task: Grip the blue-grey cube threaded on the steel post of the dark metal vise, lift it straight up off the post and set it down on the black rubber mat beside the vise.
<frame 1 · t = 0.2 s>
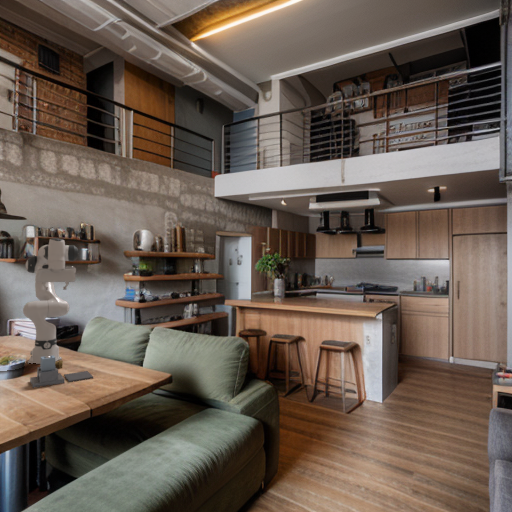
hand: (55, 290, 203), 47 cm above the table, tool pointing down, fingers open, 8 cm apart
gavel: (52, 373, 203), on the table
mat: (78, 377, 194), on the table
blue-grey cube: (47, 368, 185), point 7 cm above the table, touching vise
vise: (47, 382, 185), on the table
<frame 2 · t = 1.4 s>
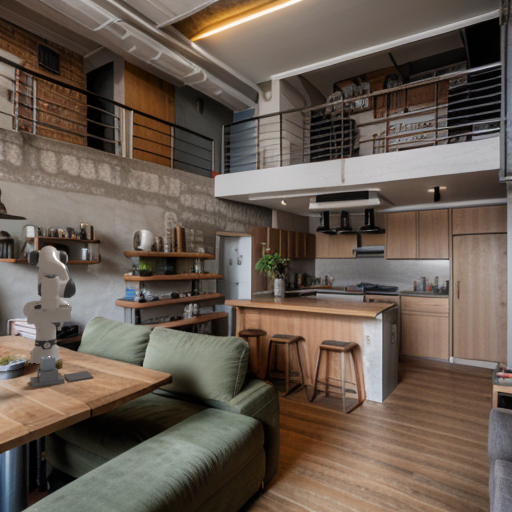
hand: (49, 331, 186), 27 cm above the table, tool pointing down, fingers open, 8 cm apart
nothing on the table moved.
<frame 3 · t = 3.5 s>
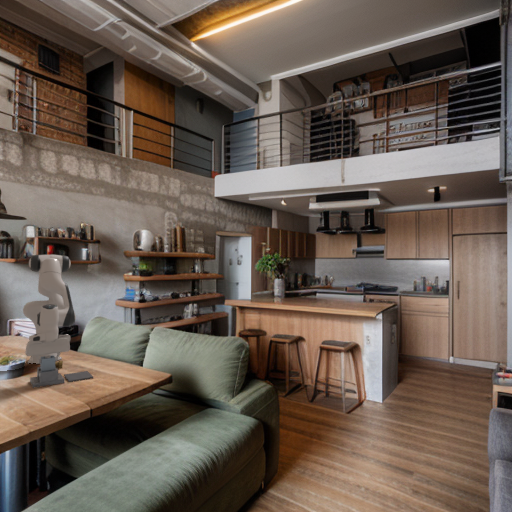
hand: (47, 362, 185), 10 cm above the table, tool pointing down, fingers closed on blue-grey cube, 6 cm apart
blue-grey cube: (47, 368, 185), point 7 cm above the table, touching gripper, vise
everything else where it was.
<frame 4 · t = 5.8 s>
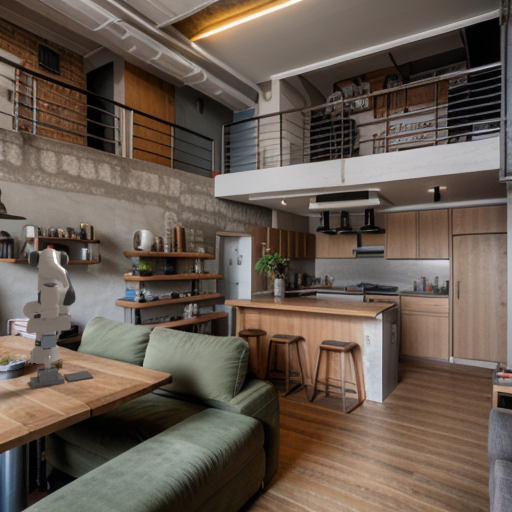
hand: (48, 340, 186), 22 cm above the table, tool pointing down, fingers closed on blue-grey cube, 6 cm apart
blue-grey cube: (48, 346, 186), point 19 cm above the table, touching gripper
everything else where it was.
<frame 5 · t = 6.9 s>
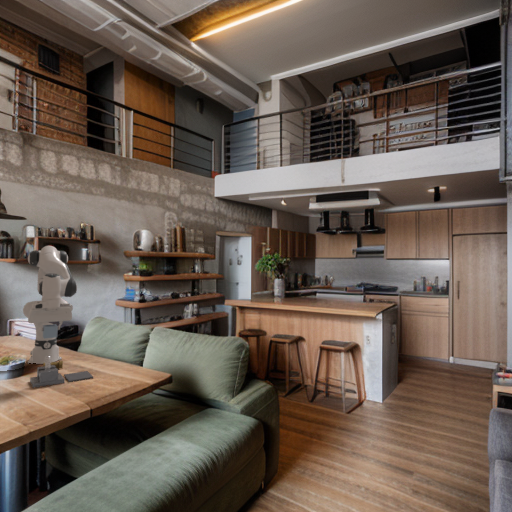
hand: (50, 330, 186), 27 cm above the table, tool pointing down, fingers closed on blue-grey cube, 6 cm apart
blue-grey cube: (50, 336, 186), point 24 cm above the table, touching gripper
everything else where it was.
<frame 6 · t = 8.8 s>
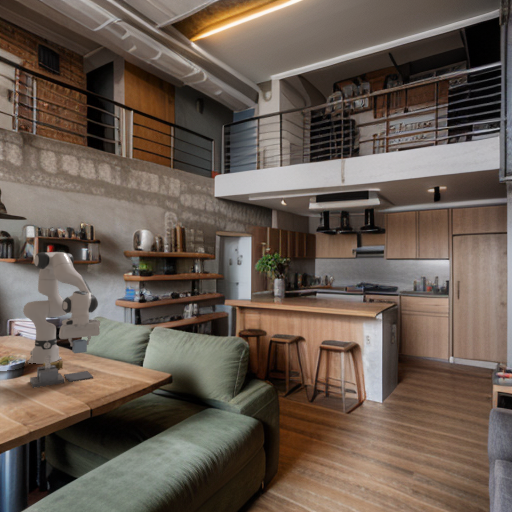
hand: (79, 345, 195), 17 cm above the table, tool pointing down, fingers closed on blue-grey cube, 6 cm apart
blue-grey cube: (79, 351, 194), point 14 cm above the table, touching gripper
when the fingers open (5 cm above the table, at t = 10.6 s): blue-grey cube drops 1 cm, resting on mat.
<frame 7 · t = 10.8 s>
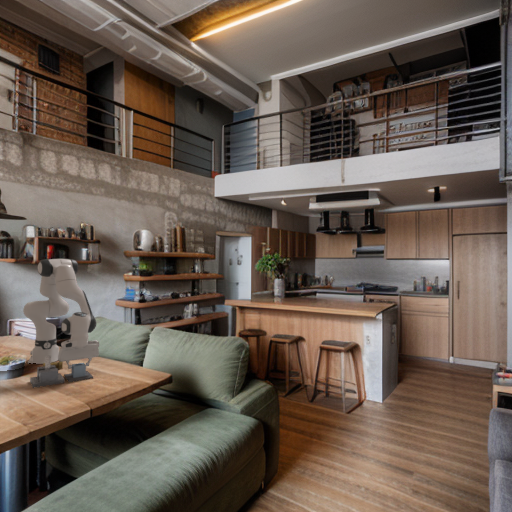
hand: (78, 367, 194), 5 cm above the table, tool pointing down, fingers open, 8 cm apart
blue-grey cube: (78, 375, 194), point 1 cm above the table, touching mat
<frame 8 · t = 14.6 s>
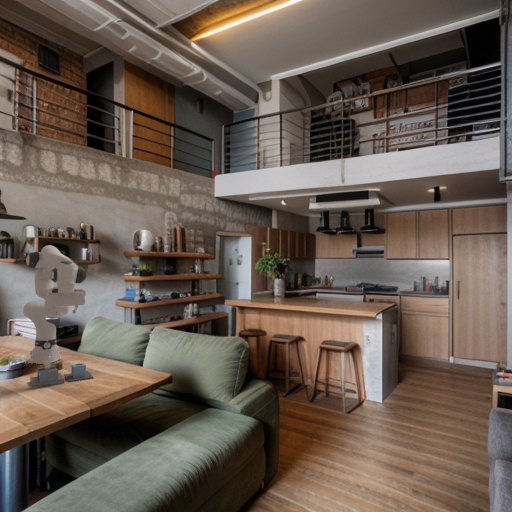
hand: (65, 313, 200), 34 cm above the table, tool pointing down, fingers open, 8 cm apart
at the end: blue-grey cube inside the target area on the mat (0.0 cm from its centre), point 0.8 cm above the mat's base; blue-grey cube tilted 0°; the gripper is holding nothing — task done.
